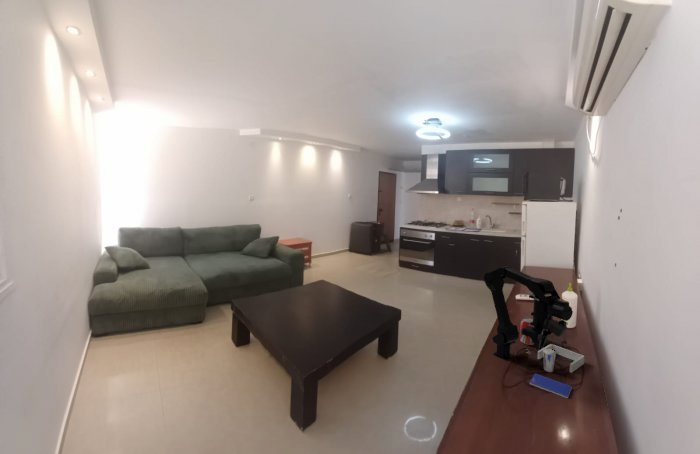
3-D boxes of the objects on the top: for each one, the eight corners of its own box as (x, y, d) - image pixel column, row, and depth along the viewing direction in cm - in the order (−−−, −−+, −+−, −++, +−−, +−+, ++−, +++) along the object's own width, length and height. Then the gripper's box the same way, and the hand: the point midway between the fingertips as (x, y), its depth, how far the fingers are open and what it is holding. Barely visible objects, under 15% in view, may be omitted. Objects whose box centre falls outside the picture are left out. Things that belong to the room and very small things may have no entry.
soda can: (521, 338, 160) (522, 316, 158) (536, 342, 155) (538, 319, 154) (518, 343, 154) (519, 320, 153) (534, 347, 150) (535, 324, 149)
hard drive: (529, 381, 121) (567, 395, 112) (535, 372, 127) (571, 385, 118) (529, 385, 121) (567, 399, 112) (535, 376, 127) (571, 389, 118)
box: (571, 372, 128) (572, 364, 128) (537, 358, 140) (537, 351, 139) (584, 363, 135) (584, 355, 135) (550, 350, 147) (551, 343, 146)
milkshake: (541, 365, 134) (542, 343, 133) (555, 370, 130) (557, 347, 129) (538, 369, 131) (539, 347, 130) (553, 374, 127) (554, 351, 126)
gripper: (552, 323, 112) (550, 364, 113) (574, 312, 122) (572, 349, 124) (521, 313, 121) (519, 351, 123) (544, 304, 131) (542, 339, 133)
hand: (539, 348), depth 125 cm, fingers open, 3 cm apart
